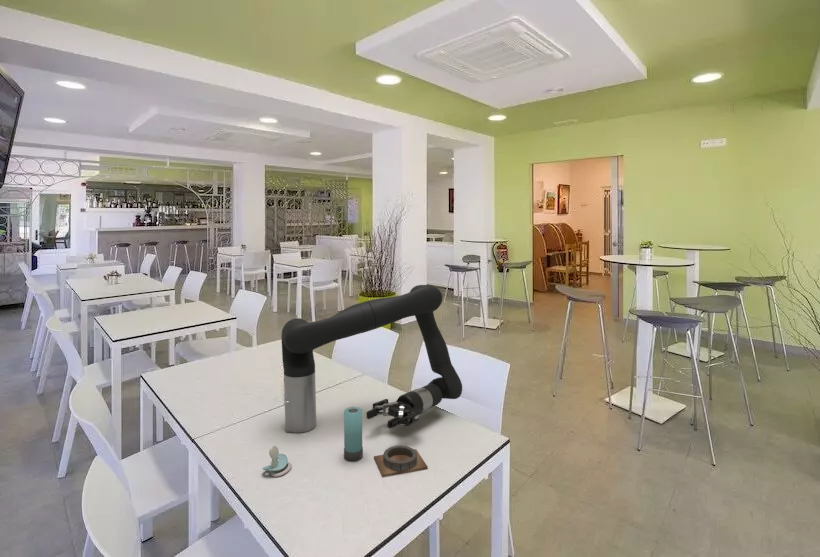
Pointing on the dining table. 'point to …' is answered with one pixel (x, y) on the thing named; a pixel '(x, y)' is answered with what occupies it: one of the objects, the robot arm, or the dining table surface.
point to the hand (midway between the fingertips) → (377, 420)
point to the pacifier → (277, 463)
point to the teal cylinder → (353, 434)
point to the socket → (399, 461)
